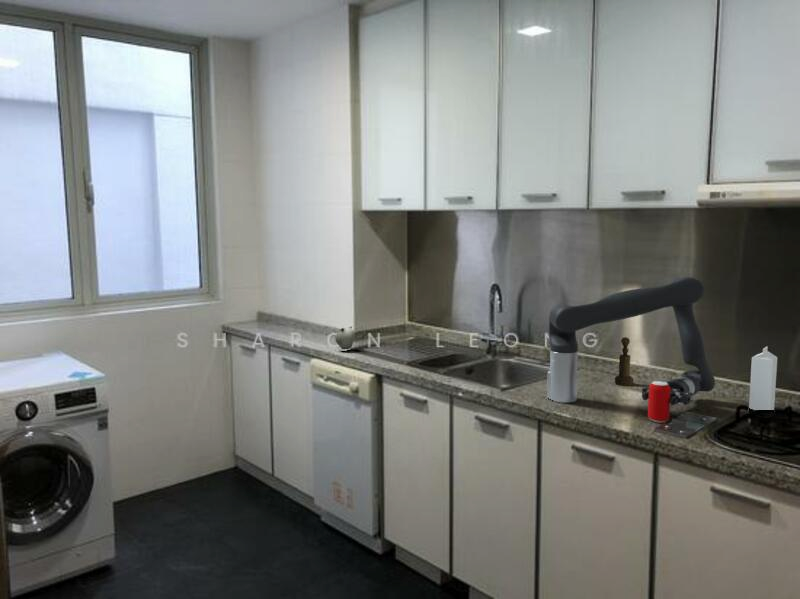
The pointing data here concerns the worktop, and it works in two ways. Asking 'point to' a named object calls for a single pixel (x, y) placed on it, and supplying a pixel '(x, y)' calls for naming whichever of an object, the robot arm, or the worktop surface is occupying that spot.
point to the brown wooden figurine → (624, 366)
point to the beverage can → (659, 402)
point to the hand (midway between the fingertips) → (657, 399)
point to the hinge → (685, 424)
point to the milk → (763, 381)
